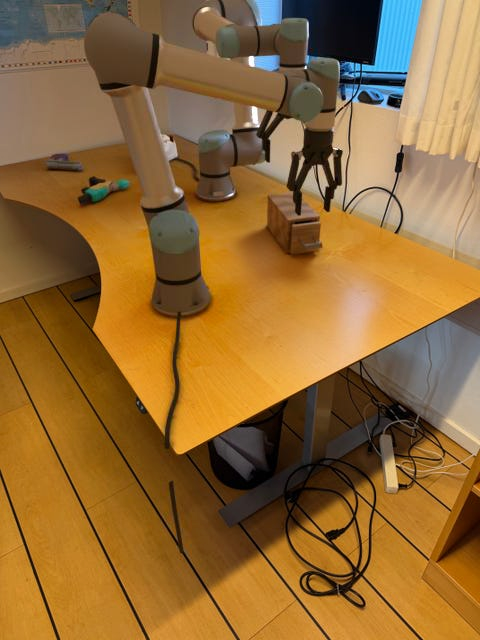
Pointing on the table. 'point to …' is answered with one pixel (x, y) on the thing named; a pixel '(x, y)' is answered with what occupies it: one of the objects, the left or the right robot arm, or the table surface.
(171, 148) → the sneaker
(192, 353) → the table surface
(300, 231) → the drawer
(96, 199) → the toy gun
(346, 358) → the table surface
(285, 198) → the cabinet
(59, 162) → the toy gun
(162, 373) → the table surface
